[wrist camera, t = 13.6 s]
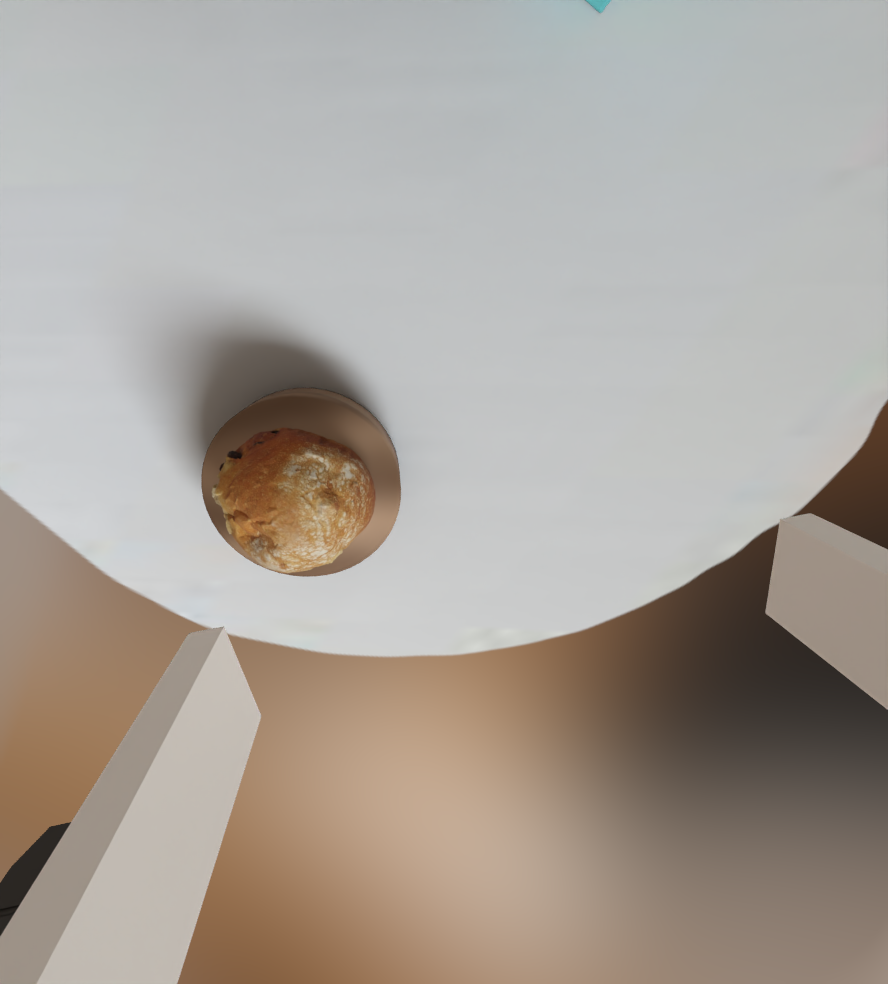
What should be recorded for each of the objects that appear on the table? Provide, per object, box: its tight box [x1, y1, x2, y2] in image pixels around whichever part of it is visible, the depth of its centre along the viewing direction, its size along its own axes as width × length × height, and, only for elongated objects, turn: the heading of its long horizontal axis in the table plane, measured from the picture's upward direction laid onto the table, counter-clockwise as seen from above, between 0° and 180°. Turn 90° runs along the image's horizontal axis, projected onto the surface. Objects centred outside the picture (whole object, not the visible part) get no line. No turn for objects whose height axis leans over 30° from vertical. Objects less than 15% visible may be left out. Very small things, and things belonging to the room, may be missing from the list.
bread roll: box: [211, 427, 376, 573], centre depth 31 cm, size 10×10×8 cm
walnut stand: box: [202, 388, 401, 576], centre depth 34 cm, size 14×14×4 cm
